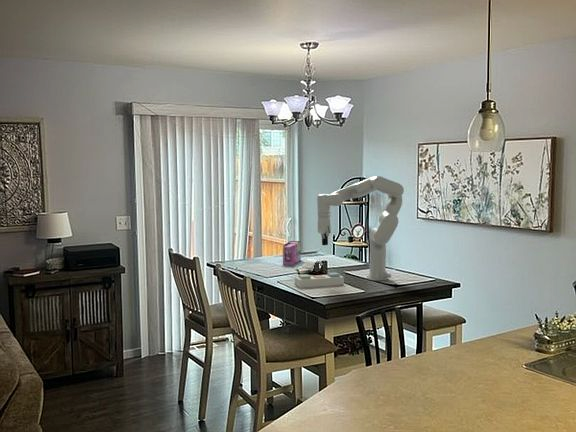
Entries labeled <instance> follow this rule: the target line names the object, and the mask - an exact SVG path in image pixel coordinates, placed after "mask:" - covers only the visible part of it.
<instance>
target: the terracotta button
mask: <svg viewBox="0 0 576 432" xmlns="http://www.w3.org/2000/svg"><path fill="white" fill-rule="evenodd" d="M322 275H323V274H319V276H316V275H312V276H313V277H315V278H325V277H324V276H322Z"/></svg>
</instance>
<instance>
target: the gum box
mask: <svg viewBox="0 0 576 432" xmlns="http://www.w3.org/2000/svg"><path fill="white" fill-rule="evenodd" d="M301 243H302V242H301V240H290V241H288V242H287V243H285V244H283V246H282V264H283V265H286V266H287V265H288V266H290V265H291V266H295V264H297V263H298V262H300V261H301V258H302V257H301V253H302V251H301V250H302V249H301Z"/></svg>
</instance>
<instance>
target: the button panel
mask: <svg viewBox="0 0 576 432" xmlns="http://www.w3.org/2000/svg"><path fill="white" fill-rule="evenodd" d="M319 275H320V274H319ZM319 275H318V274H317V275H315V276H319ZM321 275H322V276H324V277H325V278H315V277H313V276H314V275H310V276H311V279H300V278H299V276H295V277H294V286H295V287H298V288H299V289H302V288H303V289H305V288H316V287H328V286H331V287H332V286H341V285H344V284H345V278H344V276H342V275H340V277H329V276H328V274H321Z"/></svg>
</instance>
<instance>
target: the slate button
mask: <svg viewBox="0 0 576 432" xmlns="http://www.w3.org/2000/svg"><path fill="white" fill-rule="evenodd" d="M327 275H328V276H329V277H340V273H338V272H327Z"/></svg>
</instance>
